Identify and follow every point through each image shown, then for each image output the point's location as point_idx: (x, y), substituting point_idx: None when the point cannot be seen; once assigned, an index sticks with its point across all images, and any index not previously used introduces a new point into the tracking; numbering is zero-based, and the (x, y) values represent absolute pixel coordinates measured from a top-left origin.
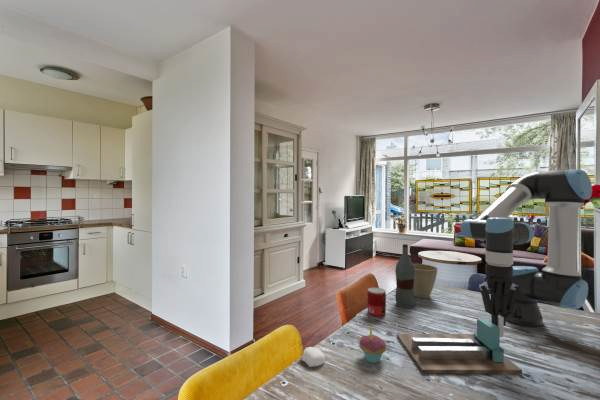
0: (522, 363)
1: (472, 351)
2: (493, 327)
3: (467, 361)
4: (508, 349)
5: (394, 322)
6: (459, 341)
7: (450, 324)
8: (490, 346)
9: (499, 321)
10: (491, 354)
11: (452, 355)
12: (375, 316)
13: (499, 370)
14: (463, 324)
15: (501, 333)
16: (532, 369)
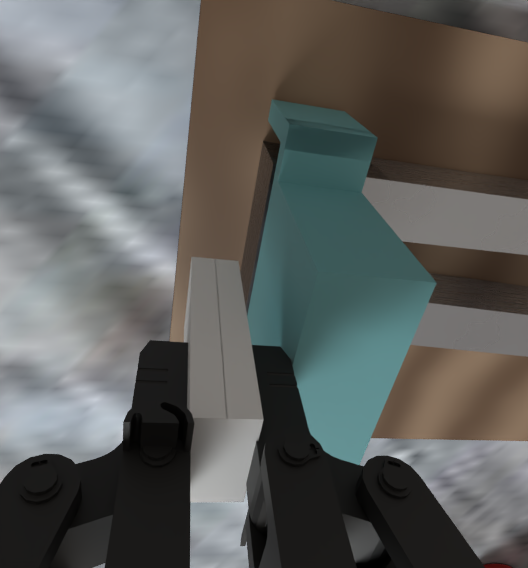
0: (77, 114)
1: (486, 191)
2: (392, 284)
3: (502, 157)
4: (46, 289)
5: (468, 530)
6: (458, 314)
7: (204, 523)
8: (361, 190)
9: (250, 370)
10: None
11: None
12: (507, 565)
13: (387, 12)
14: None
15: (214, 277)
16: (58, 22)
